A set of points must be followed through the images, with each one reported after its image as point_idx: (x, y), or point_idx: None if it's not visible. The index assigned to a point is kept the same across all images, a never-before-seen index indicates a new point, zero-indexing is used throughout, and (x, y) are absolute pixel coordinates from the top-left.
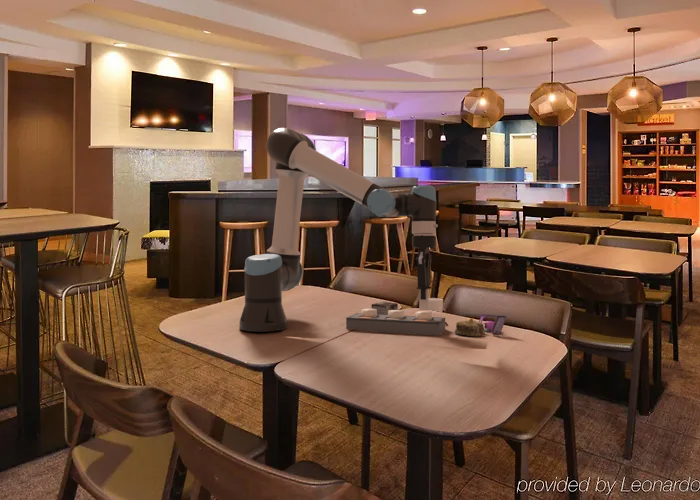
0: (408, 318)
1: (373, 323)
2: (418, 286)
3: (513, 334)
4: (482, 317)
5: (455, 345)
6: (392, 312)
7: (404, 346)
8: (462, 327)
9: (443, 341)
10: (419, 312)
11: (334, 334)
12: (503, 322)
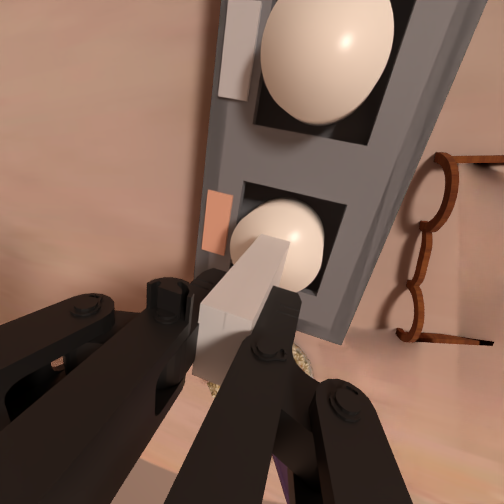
0: (295, 157)
1: None
2: (74, 301)
3: (272, 457)
4: None
5: (95, 290)
6: (267, 27)
7: (31, 152)
8: None
9: (132, 269)
10: (257, 229)
11: None
12: (280, 480)
